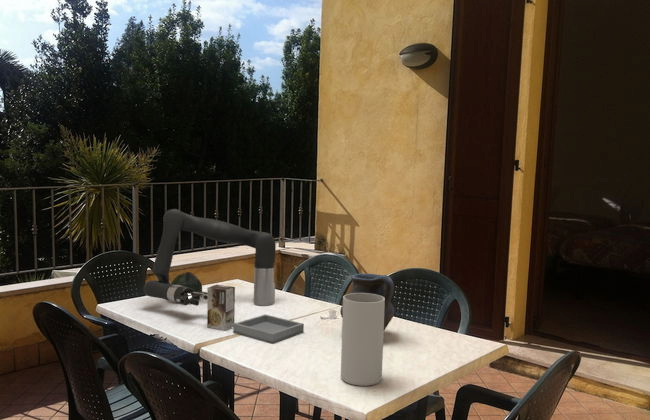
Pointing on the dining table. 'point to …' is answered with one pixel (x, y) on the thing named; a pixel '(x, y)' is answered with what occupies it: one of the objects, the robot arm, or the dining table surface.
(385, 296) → the pitcher
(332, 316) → the teacup and saucer
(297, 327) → the tray
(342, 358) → the cylinder vase
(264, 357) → the dining table surface
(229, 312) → the coffee box
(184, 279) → the squash
